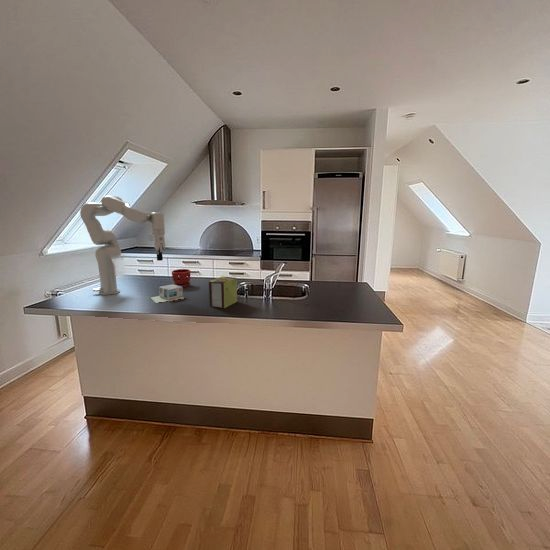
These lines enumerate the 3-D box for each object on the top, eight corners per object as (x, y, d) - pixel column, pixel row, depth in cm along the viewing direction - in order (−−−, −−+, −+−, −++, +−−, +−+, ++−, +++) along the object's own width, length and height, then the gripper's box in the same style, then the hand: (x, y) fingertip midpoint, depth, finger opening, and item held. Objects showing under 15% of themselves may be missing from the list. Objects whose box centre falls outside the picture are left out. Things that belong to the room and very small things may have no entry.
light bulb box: (159, 296, 190) (168, 299, 184) (158, 286, 188) (168, 289, 182) (173, 293, 198) (183, 296, 192) (172, 283, 197) (182, 286, 191)
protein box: (237, 301, 184) (237, 277, 181) (224, 308, 170) (223, 282, 167) (223, 299, 188) (222, 275, 184) (209, 306, 174) (208, 281, 170)
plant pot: (176, 283, 227) (175, 268, 224) (193, 284, 226) (192, 269, 224) (169, 288, 214) (168, 272, 211) (187, 288, 213) (186, 272, 211)
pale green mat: (155, 303, 178) (155, 302, 177) (150, 297, 189) (150, 297, 189) (185, 298, 188) (185, 298, 188) (178, 293, 199) (178, 293, 199)
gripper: (167, 232, 183) (168, 261, 187) (161, 231, 195) (162, 258, 199) (155, 233, 179) (156, 262, 183) (149, 231, 191) (151, 259, 195)
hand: (159, 260), depth 191 cm, fingers closed
